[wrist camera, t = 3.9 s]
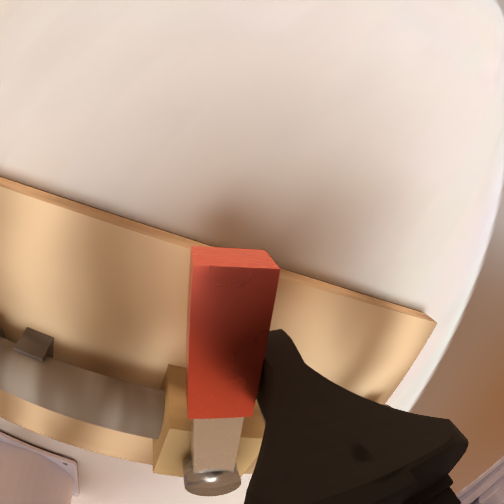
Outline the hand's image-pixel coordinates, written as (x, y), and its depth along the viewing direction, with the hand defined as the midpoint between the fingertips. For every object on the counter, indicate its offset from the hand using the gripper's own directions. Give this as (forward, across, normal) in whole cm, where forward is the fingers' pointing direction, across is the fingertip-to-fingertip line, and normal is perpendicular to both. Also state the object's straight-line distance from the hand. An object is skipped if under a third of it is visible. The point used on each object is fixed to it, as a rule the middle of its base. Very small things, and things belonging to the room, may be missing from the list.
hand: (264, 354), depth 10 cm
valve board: (+5, +3, +6) cm, 8 cm away
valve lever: (0, +2, +1) cm, 2 cm away
